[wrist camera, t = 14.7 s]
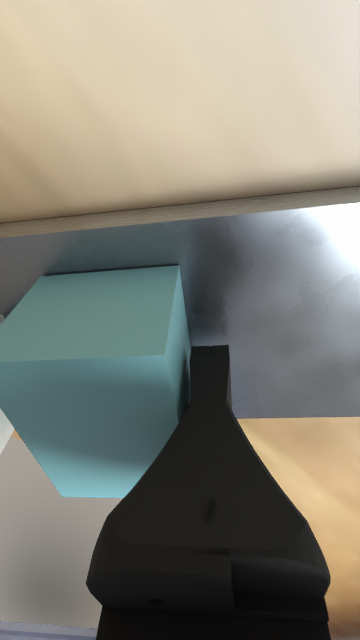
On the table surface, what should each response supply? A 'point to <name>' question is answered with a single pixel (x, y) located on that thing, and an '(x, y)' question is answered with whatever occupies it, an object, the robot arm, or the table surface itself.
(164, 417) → the block
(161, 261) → the press bed
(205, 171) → the table surface
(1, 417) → the housing block
